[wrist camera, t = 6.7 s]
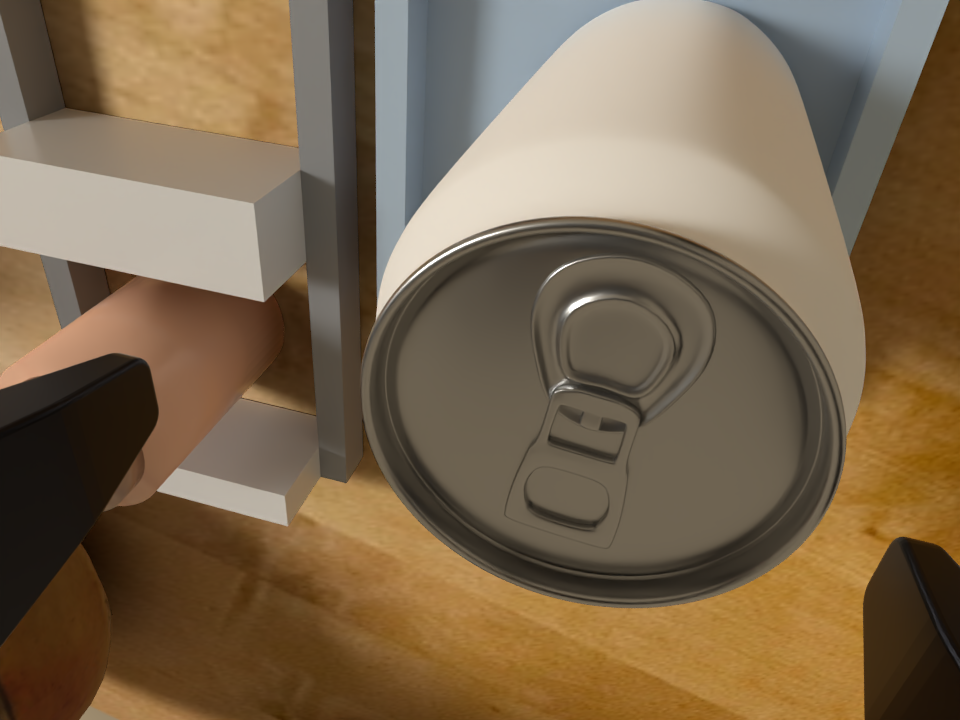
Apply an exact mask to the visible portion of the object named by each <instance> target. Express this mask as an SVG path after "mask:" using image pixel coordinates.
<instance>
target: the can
mask: <svg viewBox="0 0 960 720" xmlns="http://www.w3.org/2000/svg"><path fill="white" fill-rule="evenodd" d="M865 366H866V344H865V327H864V320H863V313H862V308H861V303H860V299H859V294H858V290H857V285H856V281H855V277H854V274H853V270H852V266H851V263H850V259H849V255H848V252H847V248H846V244H845V241H844V237H843V234H842V230H841V227H840V223H839V220H838V217H837V213H836V210H835V206H834V203H833V199H832V196H831V193H830V189H829V186H828V183H827V179H826V176H825V173H824V169H823V166H822V162H821V159H820V156H819V153H818V149H817V146H816V143H815V139H814V136H813V133H812V130H811V126H810V123H809V120H808V117H807V114H806V110H805V107H804V104H803V101H802V98H801V95H800V92H799V89H798V87H797V84H796V81H795V79H794V77H793V74H792V72H791V70H790V68H789V66H788V64H787V62H786V61H785V59H784V57H783V56H782V54H781V53H780V52H779V50H778V49H777V48H776V46H775V45H774V44H773V43H772V41H771V40H770V39H769V38H768V37H767V36H766V35H765V34H764V33H763V32H762V31H761V30H760V29H759V28H758V27H757V26H756V25H754V24H753V23H752V22H751V21H750V20H748V19H747V18H746V17H744V16H743V15H741V14H740V13H738V12H736V11H734V10H732V9H730V8H728V7H725V6H722V5H719V4H716V3H713V2H709V1H704V0H639V1H634V2H630V3H627V4H624V5H621V6H618V7H616V8H614V9H611V10H609V11H607V12H605V13H603V14H601V15H599V16H598V17H596V18H594V19H593V20H591V21H590V22H588V23H587V24H585V25H584V26H582V27H581V28H580V29H579V30H577V31H576V32H575V33H574V34H573V35H572V36H570V37H569V38H568V39H567V40H566V41H565V42H564V43H563V44H562V45H561V46H560V47H559V48H558V49H557V50H556V51H555V52H554V53H553V55H552V56H551V57H550V58H549V59H548V60H547V61H546V62H545V63H544V64H543V65H542V67H541V68H540V69H539V70H538V71H537V72H536V73H535V74H534V75H533V76H532V78H531V79H530V80H529V81H528V82H527V83H526V84H525V85H524V86H523V88H522V89H521V90H520V91H519V92H518V93H517V94H516V95H515V96H514V98H513V99H512V100H511V101H510V102H509V103H508V104H507V105H506V107H505V108H504V109H503V110H502V111H501V112H500V113H499V115H498V116H497V117H496V118H495V119H494V120H493V121H492V122H491V124H490V125H489V126H488V127H487V128H486V129H485V130H484V131H483V133H482V134H481V135H480V136H479V137H478V138H477V139H476V141H475V142H474V143H473V144H472V145H471V146H470V147H469V149H468V150H467V151H466V152H465V153H464V154H463V155H462V157H461V158H460V159H459V160H458V161H457V162H456V164H455V165H454V166H453V167H452V168H451V169H450V171H449V172H448V173H447V174H446V175H445V176H444V178H443V179H442V180H441V181H440V182H439V183H438V185H437V186H436V187H435V188H434V189H433V191H432V192H431V193H430V194H429V196H428V197H427V198H426V200H425V201H424V202H423V203H422V205H421V206H420V207H419V209H418V210H417V211H416V213H415V214H414V215H413V217H412V218H411V220H410V221H409V223H408V224H407V226H406V228H405V229H404V231H403V233H402V235H401V237H400V238H399V240H398V242H397V244H396V246H395V248H394V250H393V252H392V254H391V256H390V259H389V261H388V263H387V266H386V269H385V272H384V275H383V279H382V282H381V286H380V291H379V297H378V304H377V312H376V321H375V323H374V325H373V328H372V330H371V332H370V335H369V338H368V340H367V344H366V347H365V351H364V355H363V359H362V365H361V373H360V405H361V413H362V418H363V423H364V428H365V432H366V435H367V438H368V441H369V444H370V447H371V450H372V452H373V455H374V457H375V459H376V461H377V463H378V465H379V467H380V469H381V471H382V473H383V475H384V476H385V478H386V480H387V481H388V483H389V485H390V486H391V488H392V489H393V491H394V492H395V493H396V495H397V496H398V498H399V499H400V500H401V502H402V503H403V504H404V505H405V506H406V508H407V509H408V510H409V511H410V512H411V513H412V514H413V516H414V517H415V518H416V519H417V520H418V521H419V522H420V523H421V524H422V525H423V526H424V527H425V528H426V529H427V530H428V531H430V532H431V533H432V534H433V535H434V536H435V537H436V538H438V539H439V540H440V541H441V542H442V543H444V544H445V545H446V546H448V547H449V548H450V549H452V550H453V551H454V552H456V553H457V554H459V555H460V556H462V557H463V558H465V559H466V560H468V561H469V562H471V563H473V564H474V565H476V566H478V567H480V568H481V569H483V570H485V571H487V572H489V573H491V574H493V575H495V576H497V577H499V578H501V579H503V580H505V581H507V582H510V583H512V584H515V585H517V586H520V587H522V588H525V589H527V590H530V591H533V592H536V593H539V594H543V595H546V596H550V597H553V598H557V599H561V600H565V601H570V602H575V603H581V604H587V605H593V606H602V607H614V608H652V607H664V606H672V605H679V604H685V603H690V602H695V601H699V600H703V599H707V598H710V597H714V596H717V595H720V594H723V593H725V592H728V591H731V590H733V589H736V588H738V587H740V586H743V585H745V584H747V583H749V582H751V581H753V580H755V579H756V578H758V577H760V576H762V575H763V574H765V573H767V572H768V571H770V570H771V569H773V568H774V567H776V566H777V565H779V564H780V563H781V562H783V561H784V560H785V559H786V558H788V557H789V556H790V555H791V554H792V553H793V552H794V551H795V550H797V549H798V548H799V547H800V546H801V545H802V544H803V543H804V541H805V540H806V539H807V538H808V537H809V536H810V535H811V533H812V532H813V531H814V530H815V528H816V527H817V526H818V524H819V523H820V521H821V520H822V518H823V517H824V515H825V513H826V511H827V510H828V508H829V506H830V504H831V502H832V500H833V498H834V495H835V493H836V490H837V488H838V485H839V482H840V478H841V474H842V471H843V466H844V460H845V452H846V436H847V434H848V432H849V430H850V427H851V425H852V422H853V420H854V417H855V415H856V412H857V409H858V406H859V402H860V398H861V395H862V390H863V385H864V377H865Z"/></svg>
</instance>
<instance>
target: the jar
mask: <svg viewBox="0 0 960 720" xmlns="http://www.w3.org/2000/svg"><path fill="white" fill-rule="evenodd" d="M283 341H284V323H283V317H282V314H281V310H280V308H279V306H278V303H277V301H276V299H275V297H274V296H273V294H272V295H271V296H270V297H269V298H268V299H267V300H266V301H265V302H261V301H256V300H252V299H247V298H242V297H238V296H233V295H228V294H224V293H219V292H214V291H209V290H205V289H200V288H195V287H191V286H186V285H181V284H177V283H172V282H167V281H163V280H158V279H153V278H148V277H144V276H139V275H138V276H136V277H135V278H134V279H132V280H131V281H129V282H128V283H127V284H125V285H124V286H122V287H121V288H119V289H118V290H117V291H115V292H114V293H112V294H111V295H110V296H108V297H107V298H105V299H104V300H103V301H101V302H100V303H98V304H97V305H96V306H94V307H93V308H91V309H90V310H88V311H87V312H86V313H84V314H83V315H81V316H80V317H79V318H77V319H76V320H74V321H73V322H72V323H70V324H69V325H67V326H66V327H65V328H63V329H62V330H60V331H59V332H57V333H56V334H55V335H53V336H52V337H50V338H49V339H48V340H46V341H45V342H43V343H42V344H41V345H39V346H38V347H36V348H35V349H34V350H32V351H31V352H29V353H28V354H26V355H25V356H24V357H22V358H21V359H19V360H18V361H17V362H15V363H14V364H12V365H11V366H10V367H8V368H7V369H6V370H5V371H4V372H3V374H2V375H1V376H0V389H3V388H6V387H9V386H12V385H15V384H18V383H21V382H24V381H27V380H30V379H33V378H36V377H39V376H42V375H46V374H49V373H52V372H55V371H58V370H61V369H64V368H67V367H70V366H73V365H76V364H79V363H82V362H85V361H88V360H91V359H94V358H97V357H100V356H104V355H107V354H110V353H122V354H126V355H131V356H135V357H139V358H142V359H143V360H145V361H146V362H147V363H148V365H149V366H150V369H151V374H152V379H153V383H154V388H155V392H156V397H157V402H158V406H159V417H158V421H157V424H156V426H155V428H154V430H153V432H152V433H151V435H150V437H149V438H148V440H147V442H146V443H145V445H144V446H143V448H142V450H141V451H140V453H139V454H138V456H137V458H136V459H135V461H134V463H133V464H132V466H131V467H130V469H129V471H128V472H127V474H126V476H125V477H124V479H123V480H122V482H121V484H120V485H119V487H118V488H117V490H116V492H115V493H114V495H113V497H112V498H111V500H110V501H109V503H108V505H107V506H106V508H105V509H104V511H108V510H111V509H113V508H114V507H116V506H129V505H135V504H138V503H141V502H143V501H145V500H147V499H148V498H150V497H151V496H152V495H153V494H154V493H155V492H156V491H157V490H158V488H159V487H160V486H161V485H162V484H163V483H164V482H165V481H166V480H167V478H168V477H169V476H170V475H171V474H172V473H173V472H174V471H175V470H176V469H177V467H178V466H179V465H180V464H181V463H182V462H183V461H184V460H185V459H186V457H187V456H188V455H189V454H190V453H191V452H192V451H193V450H194V449H195V447H196V446H197V445H198V444H199V443H200V442H201V441H202V440H203V439H204V437H205V436H206V435H207V434H208V433H209V432H210V431H211V430H212V429H213V427H214V426H215V425H216V424H217V423H218V422H219V421H220V420H221V419H222V418H223V416H224V415H225V414H226V413H227V412H228V411H229V410H230V409H231V408H232V406H233V405H234V404H235V403H236V402H237V401H238V400H239V399H240V398H241V396H242V395H243V394H244V393H245V392H246V391H247V390H248V389H249V388H250V386H251V385H252V384H253V383H254V382H255V381H256V380H257V379H258V378H259V376H260V375H261V374H262V373H263V372H264V371H265V370H266V369H267V368H268V367H269V365H270V364H271V363H272V362H273V361H274V360H275V358H276V357H277V356H278V354H279V352H280V350H281V348H282V345H283ZM104 511H103V512H104Z"/></svg>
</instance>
